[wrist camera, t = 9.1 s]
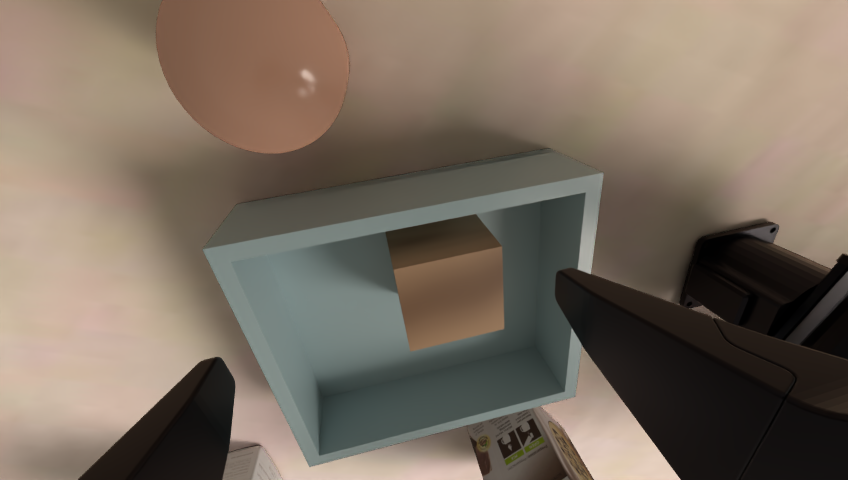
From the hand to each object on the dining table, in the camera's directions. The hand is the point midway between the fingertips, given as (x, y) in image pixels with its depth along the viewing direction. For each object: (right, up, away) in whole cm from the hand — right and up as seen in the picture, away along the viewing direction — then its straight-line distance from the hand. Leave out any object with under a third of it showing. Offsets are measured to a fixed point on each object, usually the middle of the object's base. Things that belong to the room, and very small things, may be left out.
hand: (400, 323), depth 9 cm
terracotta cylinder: (-5, +10, +7) cm, 13 cm away
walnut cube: (+1, +1, +12) cm, 12 cm away
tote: (0, -1, +14) cm, 14 cm away
